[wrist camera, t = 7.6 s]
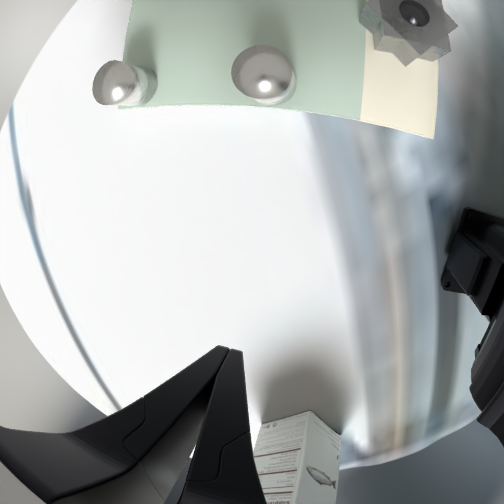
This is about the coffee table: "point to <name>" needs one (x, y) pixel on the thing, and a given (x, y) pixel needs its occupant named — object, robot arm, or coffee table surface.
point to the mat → (293, 46)
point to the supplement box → (298, 460)
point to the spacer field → (243, 75)
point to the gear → (409, 28)
